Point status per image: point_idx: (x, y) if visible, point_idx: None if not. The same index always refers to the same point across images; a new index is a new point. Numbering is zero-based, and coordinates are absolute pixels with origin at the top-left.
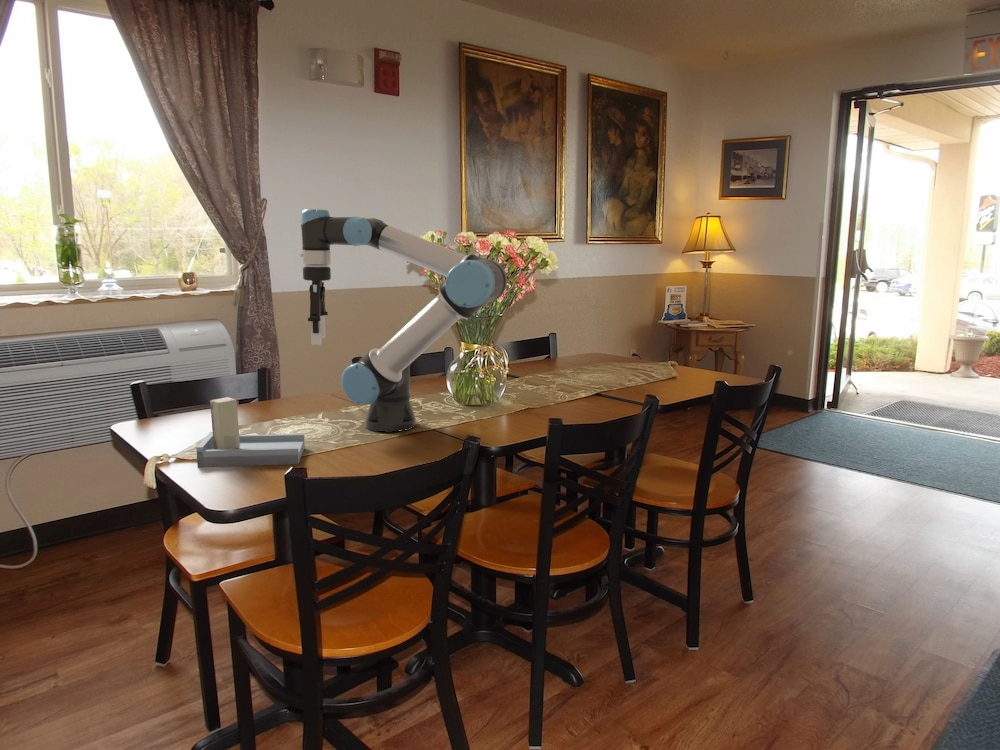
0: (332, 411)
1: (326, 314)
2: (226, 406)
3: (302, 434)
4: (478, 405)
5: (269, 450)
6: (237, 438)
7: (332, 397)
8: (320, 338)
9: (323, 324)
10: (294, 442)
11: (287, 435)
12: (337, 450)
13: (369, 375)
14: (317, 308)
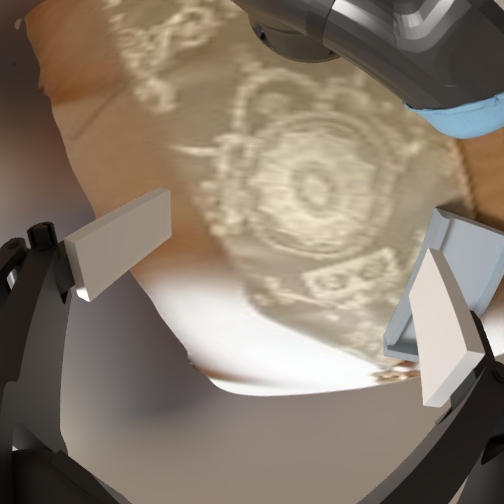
0: (168, 127)
1: (52, 232)
2: None
3: (446, 221)
4: None
5: (498, 283)
6: None
7: (85, 136)
8: (450, 274)
9: (120, 227)
10: (453, 234)
11: (439, 248)
12: (467, 153)
13: None
14: None
